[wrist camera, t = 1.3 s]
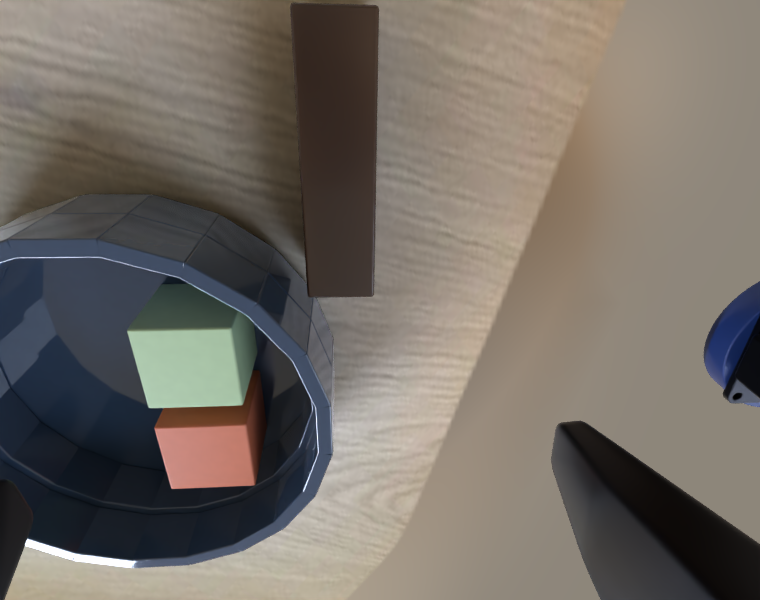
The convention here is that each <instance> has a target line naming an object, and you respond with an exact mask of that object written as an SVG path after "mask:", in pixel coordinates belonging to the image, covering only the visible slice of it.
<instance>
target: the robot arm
mask: <svg viewBox="0 0 760 600" xmlns="http://www.w3.org/2000/svg"><path fill="white" fill-rule="evenodd" d="M723 396H724V398H725V399H727V400H728V401H729V402H730V403H760V316H759V318H758V320H757V322H756V324H755V326H754V329H753V331H752V333H751V335H750V337H749V339H748V341H747V343H746V345H745V347H744V350H743V352H742V354H741V356H740V358H739V360H738V362H737V364H736V366H735V369H734V371H733V373H732V375H731V377H730V379H729V381H728V383H727V385H726V387H725V390H724V392H723ZM551 462H552V469H553V472H554V475H555V478H556V481H557V484H558V487H559V490H560V493H561V496H562V499H563V502H564V505H565V508H566V511H567V513H568V517H569V520H570V523H571V526H572V529H573V532H574V535H575V538H576V540H577V544H578V546H579V549H580V552H581V555H582V558H583V560H584V563H585V565H586V568H587V570H588V572H589V574H590V577H591V579H592V581H593V584H594V586H595V588H596V590H597V592H598V595H599V597H600V599H601V600H760V544H759V543H757V542H756V541H754V540H753V539H752V538H750V537H749V536H747V535H746V534H745V533H743V532H742V531H740V530H739V529H737V528H736V527H734V526H733V525H732V524H730V523H729V522H727V521H726V520H724V519H723V518H722V517H720V516H718V515H717V514H716V513H714V512H713V511H712V510H710V509H709V508H707V507H706V506H704V505H703V504H701V503H700V502H699V501H697V500H696V499H694V498H693V497H691V496H690V495H689V494H687V493H686V492H684V491H683V490H682V489H680V488H679V487H677V486H676V485H674V484H673V483H671V482H670V481H669V480H667V479H666V478H664V477H663V476H661V475H660V474H659V473H657V472H656V471H654V470H653V469H651V468H650V467H649V466H647V465H646V464H644V463H643V462H641V461H640V460H639V459H637V458H636V457H634V456H633V455H631V454H630V453H628V452H627V451H626V450H624V449H623V448H621V447H620V446H618V445H617V444H616V443H614V442H613V441H611V440H610V439H608V438H606V436H604V435H603V434H601V433H600V432H598V431H597V430H596V429H594V428H593V427H591V426H590V425H588V424H587V423H585V422H582V421H572V422H563V423H560V424H558V425H557V427H556V430H555V437H554V443H553V450H552V457H551ZM32 523H33V513H32V510H31V508H30V507H29V505H28V504H27V502H26V500H25V499H24V497H23V496H22V494H21V493H20V491H19V490H18V488H17V487H16V485H15V484H14V483H13V482H12V481H10V480H8V479H1V480H0V600H4V599H5V597H6V594H7V591H8V589H9V586H10V583H11V581H12V578H13V575H14V573H15V570H16V567H17V565H18V562H19V559H20V557H21V554H22V552H23V549H24V546H25V544H26V541H27V538H28V536H29V533H30V530H31V527H32Z"/></svg>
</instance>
